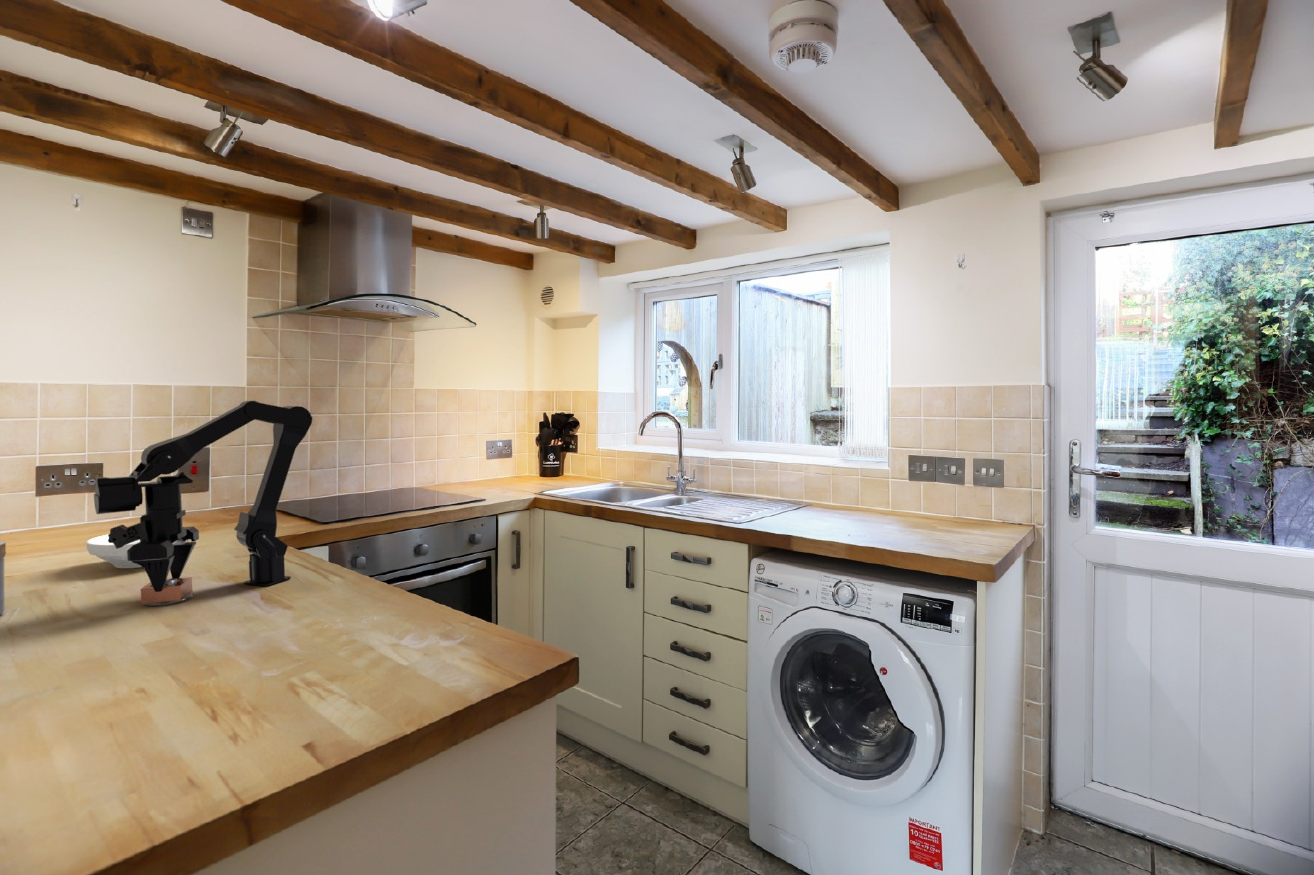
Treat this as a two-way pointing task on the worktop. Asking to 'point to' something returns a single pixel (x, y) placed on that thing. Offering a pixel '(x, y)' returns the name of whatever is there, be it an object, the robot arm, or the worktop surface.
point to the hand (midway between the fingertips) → (167, 585)
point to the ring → (167, 592)
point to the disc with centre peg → (172, 582)
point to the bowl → (111, 551)
